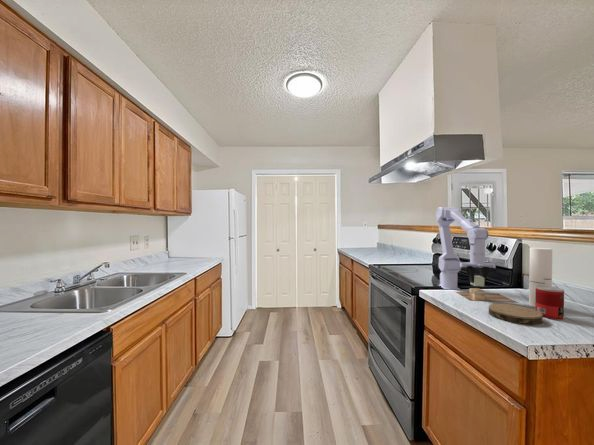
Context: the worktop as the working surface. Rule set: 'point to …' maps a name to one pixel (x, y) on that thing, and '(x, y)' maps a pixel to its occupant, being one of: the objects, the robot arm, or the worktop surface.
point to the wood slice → (515, 314)
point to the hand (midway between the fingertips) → (477, 282)
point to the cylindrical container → (539, 271)
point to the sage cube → (478, 281)
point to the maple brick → (477, 294)
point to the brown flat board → (488, 297)
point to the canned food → (550, 302)
